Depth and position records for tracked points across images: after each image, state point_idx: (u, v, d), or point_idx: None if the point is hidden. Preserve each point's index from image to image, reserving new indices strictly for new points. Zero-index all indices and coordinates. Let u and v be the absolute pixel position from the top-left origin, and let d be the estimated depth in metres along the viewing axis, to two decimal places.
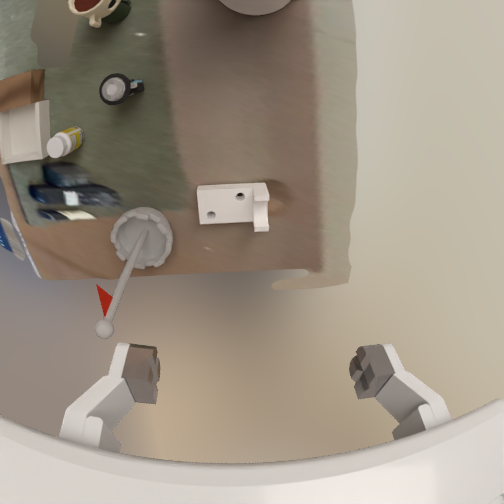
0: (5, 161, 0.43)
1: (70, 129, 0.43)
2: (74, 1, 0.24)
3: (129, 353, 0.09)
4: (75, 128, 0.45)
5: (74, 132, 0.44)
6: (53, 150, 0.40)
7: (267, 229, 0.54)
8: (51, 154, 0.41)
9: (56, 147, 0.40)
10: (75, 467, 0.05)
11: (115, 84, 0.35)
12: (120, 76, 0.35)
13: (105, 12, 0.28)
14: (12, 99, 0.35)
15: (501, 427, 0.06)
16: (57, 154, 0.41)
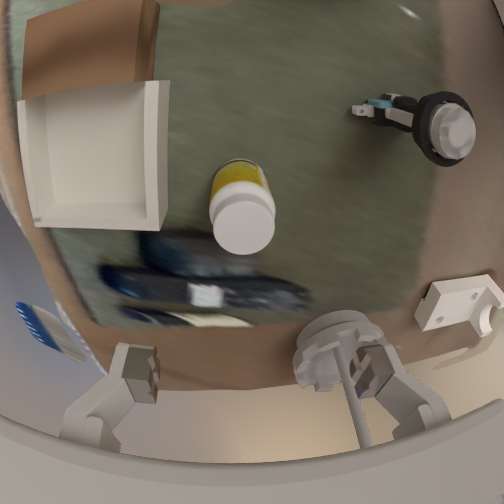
0: (44, 222, 0.22)
1: (252, 170, 0.22)
2: None
3: (129, 353, 0.09)
4: (253, 165, 0.23)
5: (265, 181, 0.22)
6: (237, 236, 0.19)
7: (489, 333, 0.33)
8: (228, 245, 0.19)
9: (251, 229, 0.19)
10: (75, 467, 0.05)
11: (467, 125, 0.13)
12: (464, 107, 0.14)
13: None
14: (69, 65, 0.14)
15: (501, 427, 0.06)
16: (248, 247, 0.19)
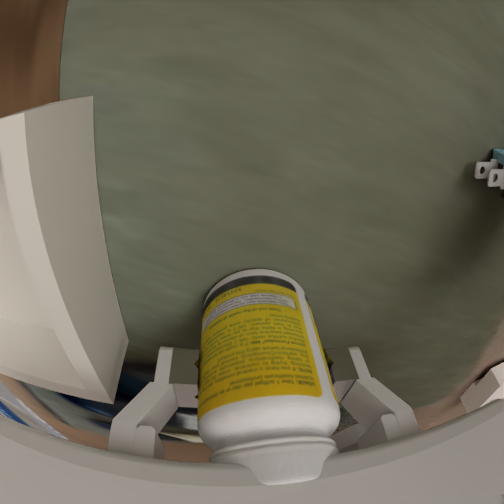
0: None
1: (289, 322, 0.10)
2: None
3: (174, 357, 0.09)
4: (289, 293, 0.11)
5: (317, 342, 0.10)
6: None
7: None
8: None
9: None
10: (75, 467, 0.05)
11: None
12: None
13: None
14: None
15: (501, 427, 0.06)
16: None
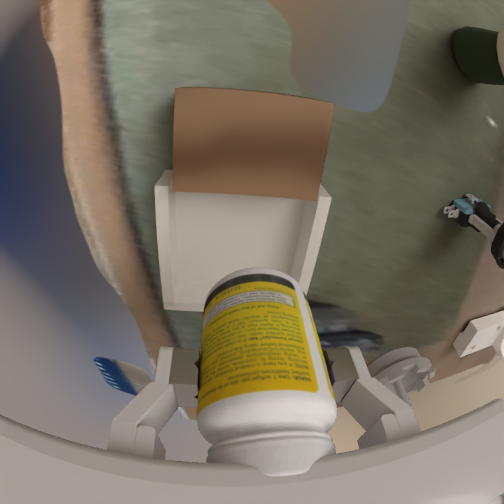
0: (178, 306, 0.26)
1: (287, 319, 0.10)
2: None
3: (174, 357, 0.09)
4: (287, 291, 0.11)
5: (315, 339, 0.10)
6: None
7: None
8: None
9: None
10: (75, 467, 0.05)
11: None
12: None
13: None
14: (245, 167, 0.18)
15: (501, 427, 0.06)
16: None
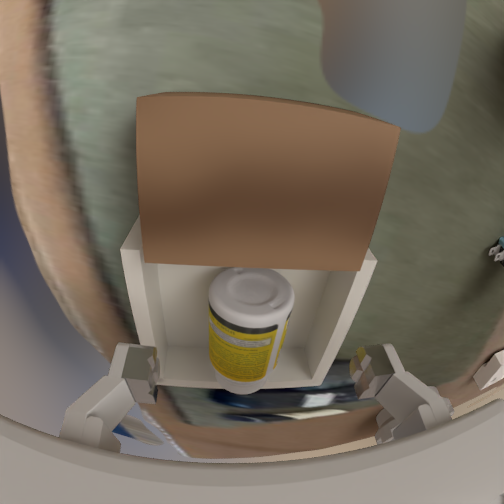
0: (168, 382, 0.19)
1: (261, 353, 0.16)
2: None
3: (129, 353, 0.09)
4: (269, 336, 0.15)
5: (278, 349, 0.17)
6: None
7: None
8: None
9: None
10: (75, 467, 0.05)
11: None
12: None
13: None
14: (256, 229, 0.12)
15: (501, 427, 0.06)
16: None
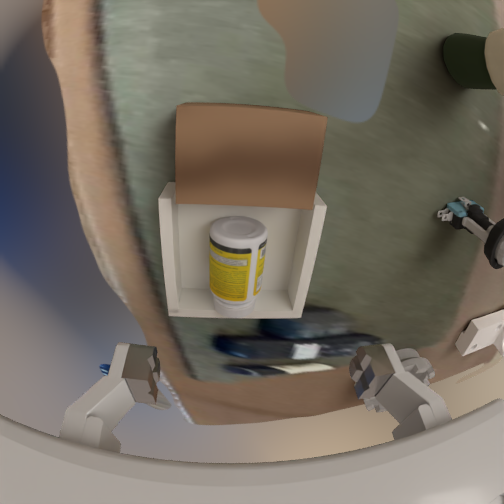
0: (182, 312, 0.27)
1: (241, 273, 0.23)
2: None
3: (129, 353, 0.09)
4: (245, 257, 0.23)
5: (255, 274, 0.24)
6: None
7: None
8: None
9: None
10: (75, 467, 0.05)
11: None
12: None
13: None
14: (243, 180, 0.20)
15: (501, 427, 0.06)
16: None
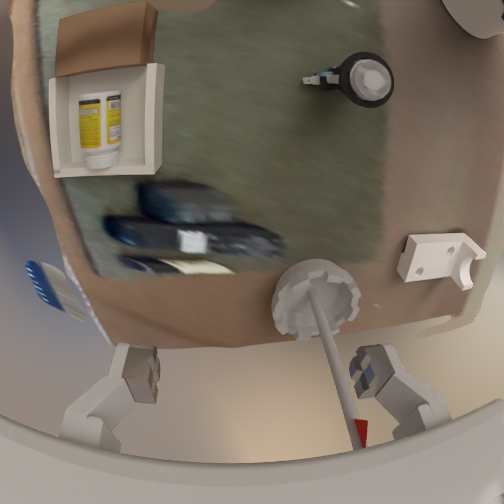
0: (62, 172, 0.27)
1: (94, 121, 0.24)
2: None
3: (129, 353, 0.09)
4: (96, 106, 0.23)
5: (106, 123, 0.25)
6: None
7: (471, 287, 0.38)
8: None
9: None
10: (75, 467, 0.05)
11: (381, 73, 0.19)
12: (381, 62, 0.20)
13: None
14: (92, 52, 0.20)
15: (501, 427, 0.06)
16: None
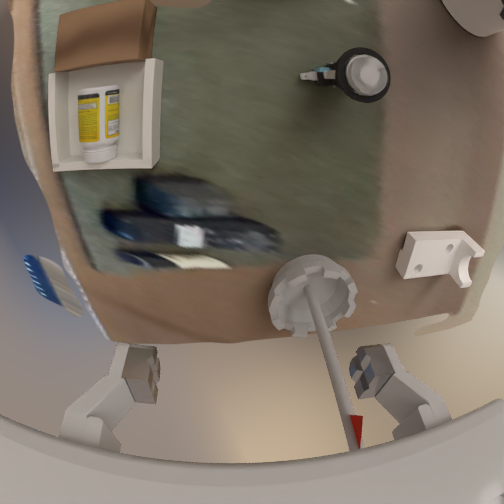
0: (61, 166, 0.27)
1: (92, 115, 0.24)
2: None
3: (129, 353, 0.09)
4: (94, 100, 0.23)
5: (104, 117, 0.24)
6: None
7: (469, 284, 0.39)
8: None
9: None
10: (75, 467, 0.05)
11: (378, 68, 0.19)
12: (377, 57, 0.20)
13: None
14: (92, 47, 0.20)
15: (501, 427, 0.06)
16: None
